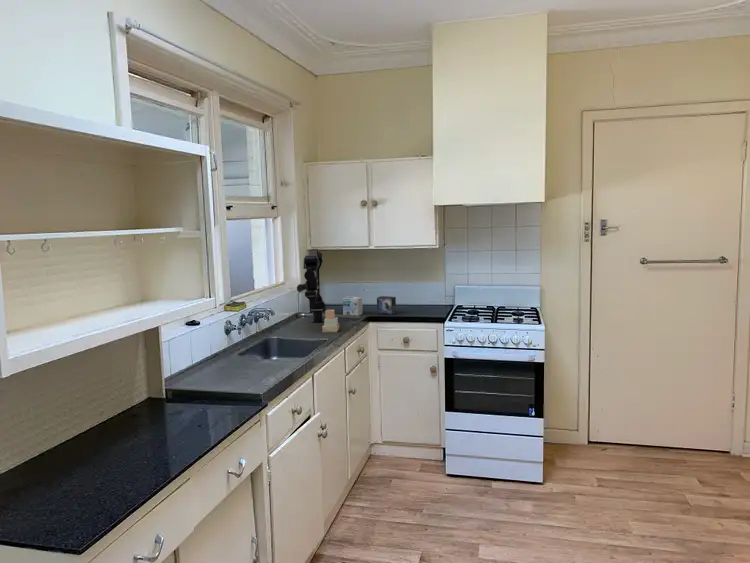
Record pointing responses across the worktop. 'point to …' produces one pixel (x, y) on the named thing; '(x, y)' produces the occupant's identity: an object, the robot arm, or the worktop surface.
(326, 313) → the terracotta cube
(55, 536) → the worktop surface
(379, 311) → the small box
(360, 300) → the light bulb box
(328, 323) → the tower top
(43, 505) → the worktop surface
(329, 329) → the tower base
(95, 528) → the worktop surface
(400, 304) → the worktop surface
